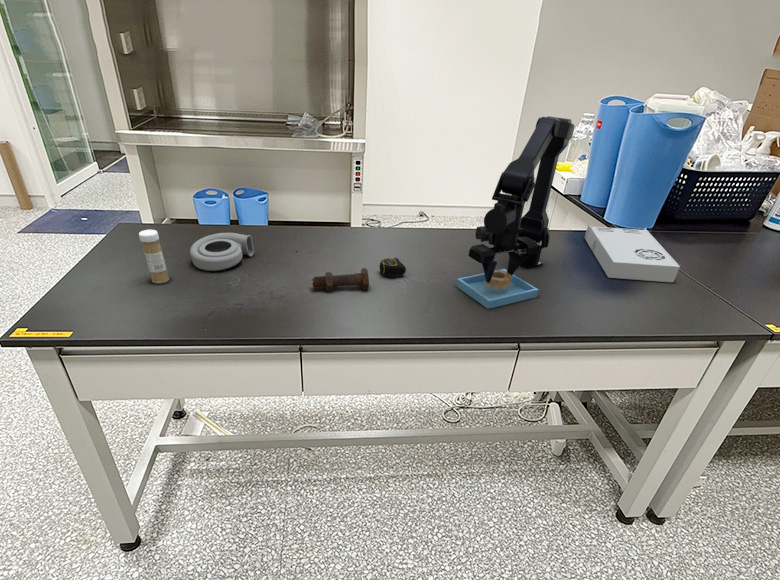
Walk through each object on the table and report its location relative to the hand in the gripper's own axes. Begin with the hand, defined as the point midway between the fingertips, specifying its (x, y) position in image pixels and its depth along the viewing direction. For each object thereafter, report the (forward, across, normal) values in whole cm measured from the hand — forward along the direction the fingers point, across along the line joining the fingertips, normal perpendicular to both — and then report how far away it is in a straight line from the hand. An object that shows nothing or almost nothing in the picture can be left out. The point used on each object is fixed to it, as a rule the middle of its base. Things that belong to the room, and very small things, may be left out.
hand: (498, 279), depth 136 cm
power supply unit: (+4, -53, -2) cm, 54 cm away
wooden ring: (+1, 0, 0) cm, 1 cm away
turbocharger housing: (+4, +64, -50) cm, 81 cm away
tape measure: (+4, +20, -22) cm, 30 cm away
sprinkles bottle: (+4, +82, -43) cm, 92 cm away
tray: (+3, 0, 0) cm, 3 cm away
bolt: (+4, +38, -19) cm, 43 cm away
